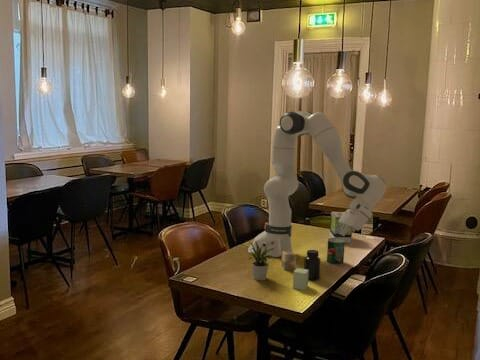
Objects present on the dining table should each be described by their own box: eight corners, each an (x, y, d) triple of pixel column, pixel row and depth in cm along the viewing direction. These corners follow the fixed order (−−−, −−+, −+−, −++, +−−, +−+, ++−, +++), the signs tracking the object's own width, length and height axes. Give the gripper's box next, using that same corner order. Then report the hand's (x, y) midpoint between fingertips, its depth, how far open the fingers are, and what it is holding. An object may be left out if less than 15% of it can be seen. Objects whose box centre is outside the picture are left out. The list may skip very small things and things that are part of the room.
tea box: (351, 243, 262) (353, 217, 259) (333, 243, 262) (335, 216, 260) (346, 236, 276) (348, 211, 274) (329, 236, 277) (330, 210, 275)
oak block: (284, 269, 215) (284, 254, 214) (281, 266, 220) (282, 251, 219) (295, 269, 216) (295, 254, 215) (292, 265, 221) (292, 251, 220)
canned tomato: (346, 263, 228) (348, 240, 226) (337, 266, 222) (338, 243, 221) (332, 258, 233) (334, 237, 232) (323, 262, 228) (324, 239, 226)
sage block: (292, 288, 193) (293, 271, 192) (295, 284, 198) (296, 268, 197) (304, 290, 191) (305, 273, 190) (307, 286, 196) (308, 269, 195)
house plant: (233, 278, 202) (234, 240, 200) (250, 269, 213) (252, 234, 211) (262, 286, 194) (263, 247, 192) (279, 276, 206) (280, 240, 203)
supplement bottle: (308, 274, 210) (310, 247, 208) (322, 278, 206) (324, 251, 204) (300, 278, 205) (301, 251, 203) (314, 282, 201) (315, 254, 199)
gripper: (346, 203, 218) (328, 227, 217) (362, 206, 198) (342, 233, 197) (357, 211, 219) (339, 235, 218) (374, 215, 198) (354, 242, 198)
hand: (341, 234), depth 207 cm, fingers closed
